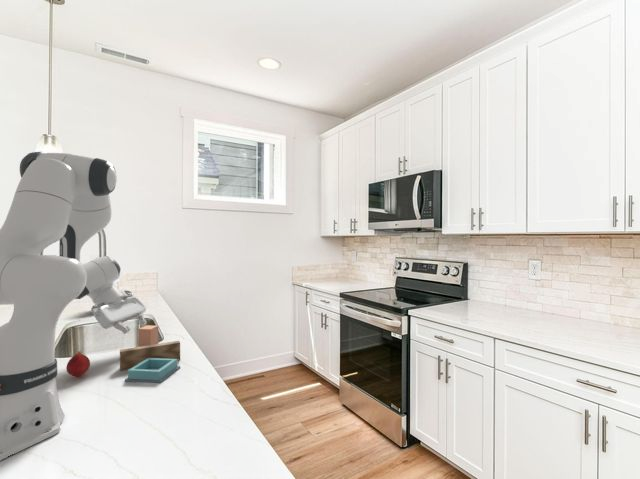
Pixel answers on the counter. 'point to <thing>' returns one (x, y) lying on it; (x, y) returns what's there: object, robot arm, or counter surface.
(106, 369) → the counter surface
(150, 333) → the block
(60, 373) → the counter surface
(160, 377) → the tray
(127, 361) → the walnut board
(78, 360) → the onion
